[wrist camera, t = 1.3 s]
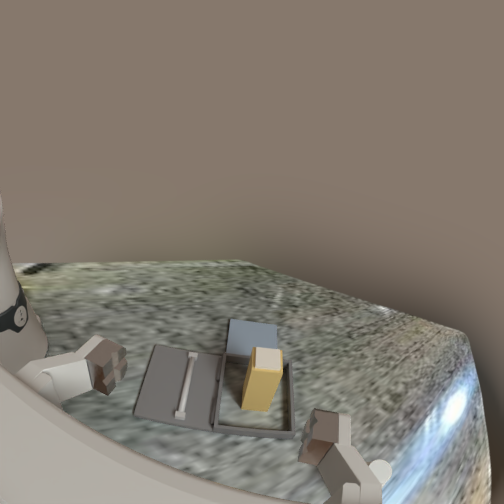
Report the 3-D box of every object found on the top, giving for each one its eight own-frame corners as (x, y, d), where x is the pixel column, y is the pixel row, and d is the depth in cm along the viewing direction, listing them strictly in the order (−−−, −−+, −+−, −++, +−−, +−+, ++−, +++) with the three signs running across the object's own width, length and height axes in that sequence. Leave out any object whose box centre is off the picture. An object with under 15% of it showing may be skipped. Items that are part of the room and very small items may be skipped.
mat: (225, 357, 57) (225, 354, 57) (230, 321, 66) (230, 318, 65) (276, 363, 58) (277, 360, 57) (275, 327, 66) (276, 324, 66)
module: (241, 409, 48) (252, 367, 41) (242, 388, 52) (253, 344, 45) (267, 411, 48) (283, 371, 41) (267, 390, 52) (283, 347, 45)
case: (134, 416, 42) (132, 411, 41) (156, 347, 56) (155, 340, 55) (292, 439, 44) (295, 434, 43) (289, 366, 57) (291, 360, 56)
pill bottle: (355, 508, 32) (386, 493, 27) (329, 494, 35) (355, 477, 30) (371, 484, 36) (401, 464, 31) (345, 470, 39) (372, 448, 34)
